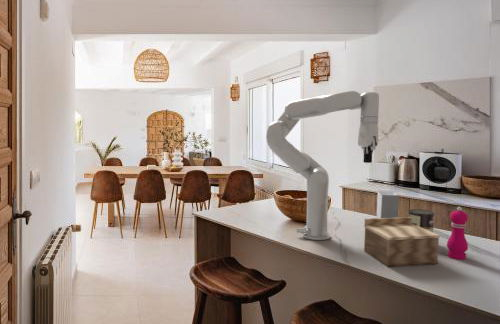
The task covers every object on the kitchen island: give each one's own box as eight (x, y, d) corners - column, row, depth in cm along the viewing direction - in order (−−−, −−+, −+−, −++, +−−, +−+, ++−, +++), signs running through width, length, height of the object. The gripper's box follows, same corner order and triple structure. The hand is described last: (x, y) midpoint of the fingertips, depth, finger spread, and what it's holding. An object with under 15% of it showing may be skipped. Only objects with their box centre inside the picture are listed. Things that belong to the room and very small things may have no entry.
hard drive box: (397, 238, 172) (399, 195, 171) (379, 237, 174) (381, 195, 172) (391, 230, 187) (393, 190, 186) (375, 229, 189) (377, 189, 187)
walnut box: (387, 267, 136) (389, 240, 135) (364, 251, 154) (365, 227, 153) (437, 264, 140) (438, 238, 139) (408, 248, 158) (409, 225, 157)
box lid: (388, 240, 135) (389, 230, 135) (364, 227, 153) (364, 218, 153) (439, 237, 139) (440, 228, 139) (409, 225, 157) (410, 217, 157)
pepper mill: (442, 254, 151) (445, 205, 150) (459, 253, 152) (462, 204, 150) (453, 260, 144) (456, 208, 142) (471, 259, 145) (474, 208, 143)
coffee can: (434, 241, 168) (435, 210, 167) (431, 248, 159) (432, 215, 158) (409, 238, 173) (410, 208, 172) (405, 243, 165) (406, 212, 163)
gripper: (353, 121, 172) (352, 161, 174) (369, 120, 157) (368, 164, 159) (368, 121, 173) (367, 161, 175) (386, 120, 159) (384, 164, 160)
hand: (367, 162), depth 167 cm, fingers closed
